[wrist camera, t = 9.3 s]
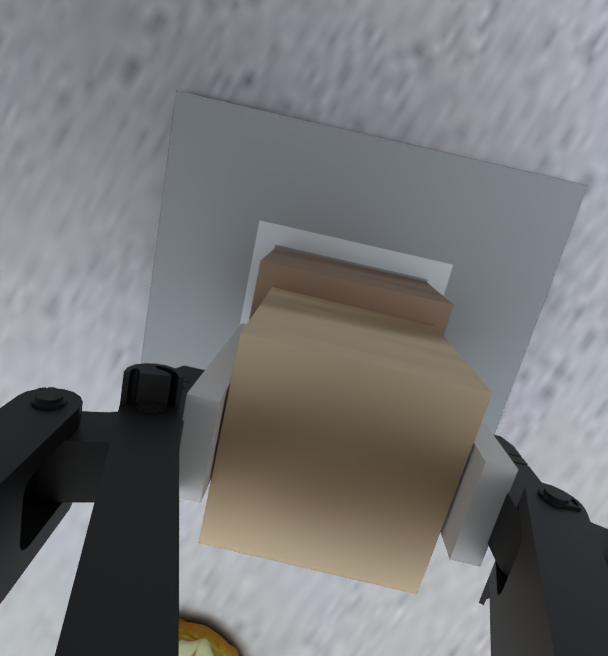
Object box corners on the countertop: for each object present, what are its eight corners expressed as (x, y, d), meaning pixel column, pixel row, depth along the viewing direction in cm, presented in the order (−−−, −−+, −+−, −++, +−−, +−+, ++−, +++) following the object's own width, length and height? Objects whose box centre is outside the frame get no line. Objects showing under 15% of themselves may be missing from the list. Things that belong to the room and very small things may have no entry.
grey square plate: (184, 96, 21) (176, 90, 19) (573, 186, 21) (588, 185, 19) (137, 444, 25) (128, 456, 24) (452, 515, 26) (458, 530, 24)
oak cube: (272, 286, 16) (240, 333, 11) (435, 325, 16) (492, 393, 11) (240, 433, 18) (198, 543, 12) (388, 468, 18) (417, 594, 12)
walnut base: (276, 247, 21) (260, 260, 16) (425, 281, 21) (453, 304, 16) (248, 385, 23) (226, 434, 18) (385, 416, 23) (399, 473, 18)
